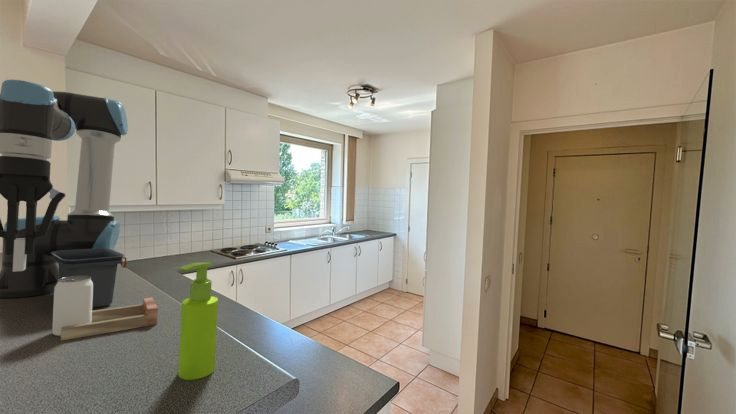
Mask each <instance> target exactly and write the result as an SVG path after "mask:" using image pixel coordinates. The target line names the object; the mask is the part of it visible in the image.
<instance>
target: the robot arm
mask: <svg viewBox="0 0 736 414" xmlns="http://www.w3.org/2000/svg"><path fill="white" fill-rule="evenodd" d="M128 126H129V125H128V119H127V113H126V110H125V107H124V105H123V104H122V102H120V101H118V100H114V99H110V98H107V97H99V96H93V95H85V94H79V93H74V92H68V91H59V90H58V91H53V90H52V89H51V88H49V87H46V86H45V85H43V84H42V85H41V84H39V83H35V82H30V81H26V80H22V79H21V80H20V79H6V80H3V82H2V83H1V88H0V154H1V155H0V195H1V197H3V198H4V199H5V200H6V201H7V213H6V222H5V223H4V226H3V223H2V220H1V218H0V238H1V239H2V255H1V260H2V262H1V269H0V299H13V298H14V299H15V298H16V299H17V298H27V297H34V296H41V295H46V294H52V293H54V288H55V286H56V284H57V283H58V281H57V280H58V279H59V265H58V263H57V262H56V261H54V260H53V257H54V255H52V254H51V252H54V251H60V250H76V249H94V248H108V249H112V250H114V249H115V247H116V245H117V244H118V243H117V242H118V239H119V235H120V222H119V221H116V220H115V215H113V213H111V211H110V200H111V192H112V191H111V189H112V179H113V177H112V176H113V167H114V157H115V156H114V155H115V145H116V144H117V143H118V142H121V140H122V139H121V138H122V136H126V135H127V134H128V132H129V131H128V130H129V128H128ZM75 133H76V135H77V136H78V137H79V138H81V143H80V152H79V153H80V154H79V161H78V163H79V164H78V165H79V166H78V175H77V184H76V192H75V193H76V194H75V202H74V203H75V205H74V209H73V210H72V211H70V213H68V214H67V218H66V220H61V218H60V216H59V215H55V213H56V211H57V209H58V207H59V203H60V202H62V200H63V199H65V198H66V193H65V192H63V191H62V192H61V191H60V190H58V189H55V188H54V187H53V184H52V182H51V162H50V160H48V159H51V158H52V147H53V146H52V145H53V143H52V141H57V142H58V141H59V142H60V141H65V140H68V139H70V138H71V137H72V136H73V135H74V134H75ZM49 193H50V194H49ZM47 194H49V199H50V201H49V203H48V205H47V208H46V210H45V213H44V216H37V209H38V207H37V206H38V202H39V201H40V200H42V199H43V198H44V197H45V196H46V195H47ZM21 202H25V207H26V208H25V210H26V211H25V217H20V218H19V213H20V212H19V211H20V203H21Z"/></svg>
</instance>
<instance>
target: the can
mask: <svg viewBox="0 0 736 414" xmlns="http://www.w3.org/2000/svg"><path fill="white" fill-rule="evenodd" d="M57 281H58V283H57V284H56V286H55V288H54V292H53V305H52V307H53V308H52V327H51V329H52V335H54V336H55V337H61V328H62V327H67V326H73V325H80V324H86V323H93V322H92V311H93V308H92V302H93V282H92V281H91V277H90V276H71V277H65V278H61V279H58V280H57Z"/></svg>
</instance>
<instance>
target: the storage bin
mask: <svg viewBox="0 0 736 414" xmlns="http://www.w3.org/2000/svg"><path fill="white" fill-rule="evenodd" d="M51 254H52V255H54V257H53V260H54V261H56V262H57V265H58V268H59V279H61V278H65V277H71V276H90V277H91V281H92V282H93V302H92V309H94V308H100V307H104V306H105V307H106V306H109V305H111V304H112V303H113V300H114V299H113V298H114V292H115V285H116V278H117V277H116V276H117V271H118V265H120V267H122V268H124V269H125V268H126V267H127V257H126V255H125V254H124V253H121V252H119V251H116V250H114V249H113V250H112V249H108V248H94V249H76V250H60V251H54V252H51ZM123 259H124V261H123ZM123 262H124V263H123Z"/></svg>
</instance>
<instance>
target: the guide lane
mask: <svg viewBox="0 0 736 414" xmlns="http://www.w3.org/2000/svg"><path fill="white" fill-rule="evenodd" d="M158 309H159V307H158V305H157V303H156V301H155V299H154V297H153V296H152V297H144V298H143V303H141V304H133V305H132V304H131V305H126V306H119V307H110V308H103V309H96V310H95V309H94V310H92V322H91V323H86V324H80V325H73V326H67V327H62V328H61V336H60V341H61V342H62V341H66V340H67V341H68V340H75V339H79V338H84V337H86V338H87V337H90V336H97V335H102V334H107V333H114V332H119V331H125V330H131V329H136V328H141V327H143V328H144V327H148V326H154V325H158Z"/></svg>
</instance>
